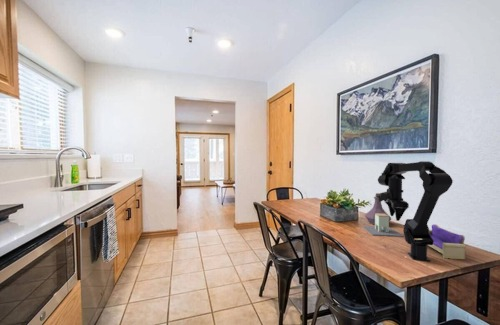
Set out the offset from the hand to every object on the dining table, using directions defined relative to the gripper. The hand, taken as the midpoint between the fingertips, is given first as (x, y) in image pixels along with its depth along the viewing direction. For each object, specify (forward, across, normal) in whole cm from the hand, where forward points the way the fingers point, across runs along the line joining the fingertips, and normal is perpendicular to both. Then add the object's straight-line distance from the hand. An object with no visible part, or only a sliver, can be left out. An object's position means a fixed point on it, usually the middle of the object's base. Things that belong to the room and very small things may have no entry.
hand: (394, 218), depth 113 cm
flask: (+13, -39, +1) cm, 41 cm away
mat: (+13, -20, -1) cm, 24 cm away
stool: (+12, -20, -1) cm, 24 cm away
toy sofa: (+13, +2, +18) cm, 22 cm away
